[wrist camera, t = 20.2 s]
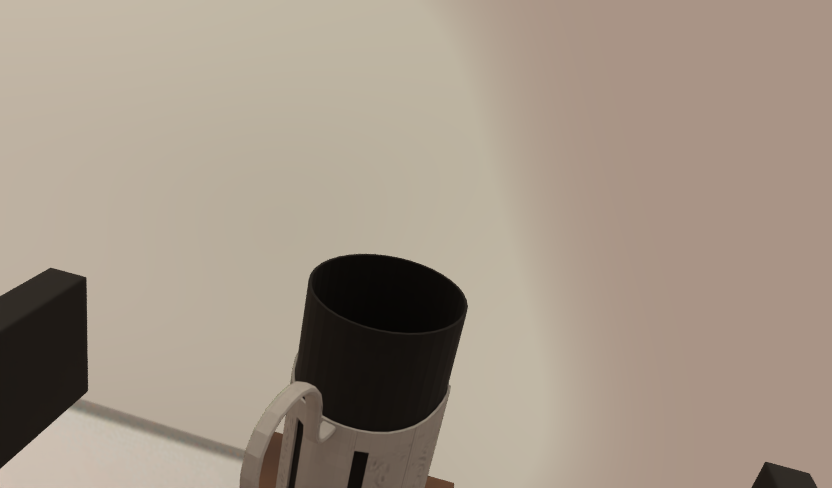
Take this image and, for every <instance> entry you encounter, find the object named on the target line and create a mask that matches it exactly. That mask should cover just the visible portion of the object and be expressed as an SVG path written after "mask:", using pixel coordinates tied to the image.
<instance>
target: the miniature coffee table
mask: <svg viewBox="0 0 832 488" xmlns="http://www.w3.org/2000/svg"><path fill="white" fill-rule="evenodd" d="M282 439H283V434H281V433H277V432H274V433H273V435H272V437H271V439H270V442H269V444H268V447H267V450H266V452H265V455H264V458H263V463H262V468H261V472H260V477H259V488H276V482H277V474H278V467H279V460H280V453H281V446H282ZM425 488H454V483H452V482H448V481H445V480H441V479H437V478H434V477H430V476H428V477H427V480H426V484H425Z"/></svg>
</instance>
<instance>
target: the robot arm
mask: <svg viewBox="0 0 832 488" xmlns="http://www.w3.org/2000/svg"><path fill="white" fill-rule="evenodd" d="M86 293H87V288H86V277H83V276H79V275H76V274H72V273H68V272H65V271H61V270H57V269H53V268H49V269H48V270H46V271H44V272H42V273H40V274H39V275H37V276H35V277H33V278H32V279H30V280H28V281H26V282H25V283H23V284H21V285H19V286H17V287H16V288H14V289H12V290H10V291H9V292H7V293H5V294H3V295H2V296H0V469H1V468H2V467H3V466H4V465H5V464H6V463H7V462H8V461H10V460H11V459H12V458H13V457H14V456H15V455H16V454H17V453H19V452H20V451H21V450H22V449H23V448H24V447H25V446H26V445H28V444H29V443H30V442H31V441H32V440H33V439H34V438H36V437H37V436H38V435H39V434H40V433H41V432H42V431H43V430H45V429H46V428H47V427H48V426H49V425H50V424H51V423H52V422H54V421H55V420H56V419H57V418H58V417H59V416H60V415H61V414H63V413H64V412H65V411H66V410H67V409H68V408H69V407H70V406H72V405H73V404H74V403H75V402H76V401H77V400H78V399H80V398H81V397H82V396H83V395H84V394H85V393H86V392H87V391H88V361H87V360H88V359H87V294H86ZM752 488H817V486H816V484H815V482H814V481H813V479H812V477H811V476H810V474H809V473H806V472H802V471H798V470H795V469H791V468H787V467H783V466H780V465H776V464H772V463H768V462H765V463H764V465H763V467H762V469H761V471H760V473H759V475H758V477H757V479H756V480H755V482H754V484H753V486H752Z"/></svg>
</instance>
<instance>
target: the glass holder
mask: <svg viewBox="0 0 832 488" xmlns="http://www.w3.org/2000/svg"><path fill="white" fill-rule="evenodd" d="M467 308H468V305H467V300H466V298H465V296H464V294H463V292H462V291H461V290H460V288H459V287H458V286H457V285H456V284H455V283H453V282H452V281H451V280H450V279H448V278H447V277H445V276H444V275H442V274H441V273H439V272H437V271H435V270H433V269H431V268H429V267H426V266H424V265H421V264H419V263H416V262H413V261H409V260H405V259H402V258H397V257H392V256H386V255H376V254H354V255H346V256H339V257H336V258H332V259H329V260H327V261H325V262H323V263H321V264H320V265H318V266H317V267H316V268H315V269H314V270H313V271H312V273H311V274H310V278H309V281H308V289H307V295H306V303H305V310H304V317H303V323H302V331H301V338H300V344H299V351H298V353H297V355H296V357H295V361H294V364H293V368H292V374H291V382H290V385H288V386H287V387H286V388H285V389H284V390H282V391H281V392H280V393H279V394H278V395H277V396H276V398H275V399H274V400H273V401H272V402H271V404H270V405H269V406H268V407H267V408H266V410H265V412H264V413H263V415H262V417H261V418H260V420H259V421H258V423H257V425H256V427H255V428H254V430H253V433H252V435H251V438H250V440H249V443H248V445H247V448H246V450H245V454H244V459H243V464H242V469H241V474H240V488H259V477H260V472H261V468H262V463H263V458H264V455H265V452H266V450H267V447H268V444H269V442H270V439H271V437H272V435H273V433H274V432H275V430H276V428H277V427H278V425H279V423H280V422H281V420H282V419H283V417H284V416H285V415H286V417H285V424H284V432H283V439H282V446H281V453H280V460H279V467H278V474H277V482H276V488H425V484H426V480H427V477H428V473H429V469H430V465H431V461H432V458H433V454H434V450H435V446H436V442H437V439H438V435H439V431H440V427H441V423H442V419H443V416H444V412H445V408H446V404H447V401H448V397H449V393H450V388H451V386H450V385H449V379H450V375H451V371H452V367H453V363H454V359H455V355H456V351H457V348H458V344H459V340H460V336H461V332H462V328H463V325H464V321H465V317H466V313H467Z"/></svg>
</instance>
